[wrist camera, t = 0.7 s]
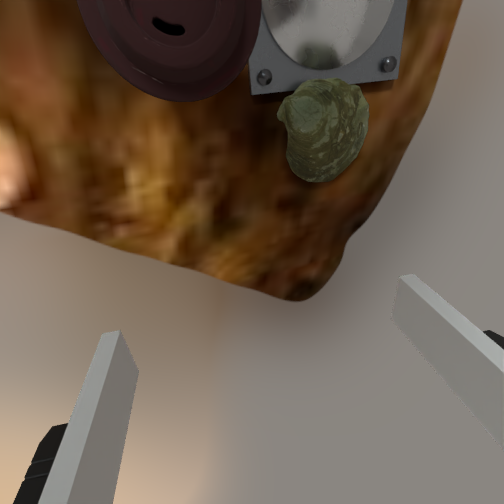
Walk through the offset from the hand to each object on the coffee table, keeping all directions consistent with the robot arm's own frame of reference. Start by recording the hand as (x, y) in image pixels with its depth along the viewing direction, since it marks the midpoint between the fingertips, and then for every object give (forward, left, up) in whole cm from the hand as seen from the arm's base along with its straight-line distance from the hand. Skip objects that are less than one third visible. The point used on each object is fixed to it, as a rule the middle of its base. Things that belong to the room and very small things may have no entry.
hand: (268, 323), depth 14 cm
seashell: (-5, +11, -24) cm, 27 cm away
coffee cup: (-15, -2, -24) cm, 28 cm away
